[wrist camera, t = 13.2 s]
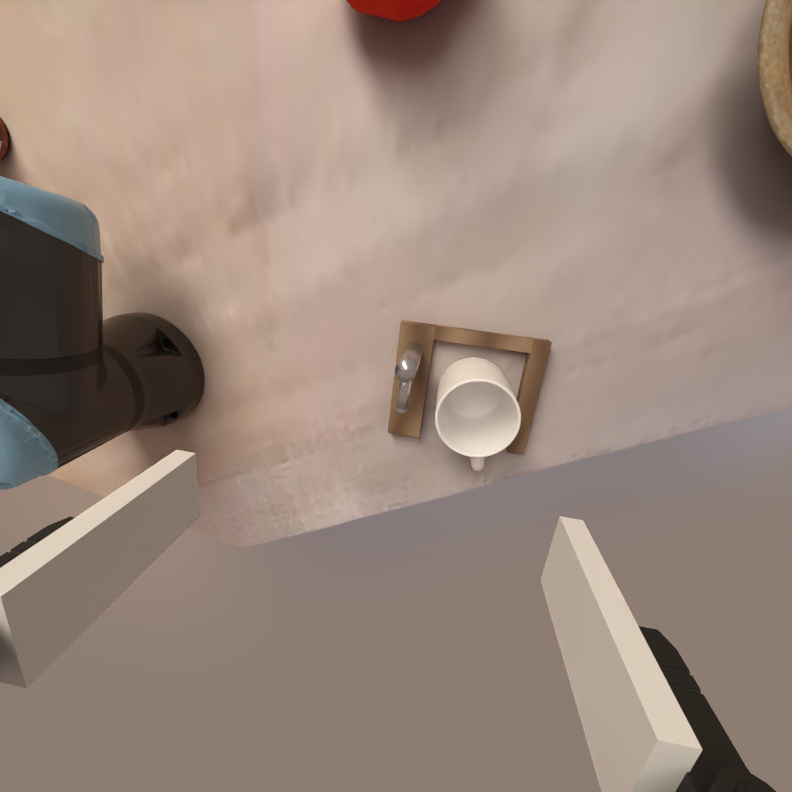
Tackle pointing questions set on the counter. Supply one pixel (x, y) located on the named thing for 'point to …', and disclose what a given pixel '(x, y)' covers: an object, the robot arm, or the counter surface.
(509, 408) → the mug
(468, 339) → the brown wooden u-shaped piece
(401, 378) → the hook post
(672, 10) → the counter surface
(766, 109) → the bowl
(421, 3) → the red lobed round piece
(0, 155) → the supplement bottle
